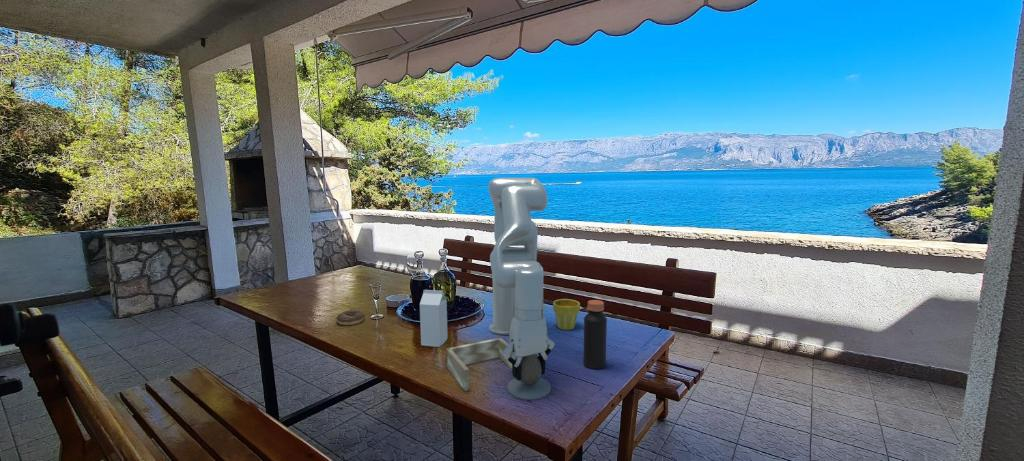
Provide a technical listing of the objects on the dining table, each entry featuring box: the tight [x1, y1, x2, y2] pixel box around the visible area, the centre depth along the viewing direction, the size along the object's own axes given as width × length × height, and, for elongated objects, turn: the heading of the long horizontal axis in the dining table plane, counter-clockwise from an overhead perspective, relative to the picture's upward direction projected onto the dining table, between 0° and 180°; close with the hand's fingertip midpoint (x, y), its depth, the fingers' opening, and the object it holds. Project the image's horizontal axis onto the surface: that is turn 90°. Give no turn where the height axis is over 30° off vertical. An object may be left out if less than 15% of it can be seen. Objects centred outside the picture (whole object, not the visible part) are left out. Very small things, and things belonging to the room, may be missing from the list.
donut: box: [336, 309, 366, 326], centre depth 165 cm, size 11×11×4 cm
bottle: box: [582, 299, 608, 370], centre depth 125 cm, size 7×7×20 cm
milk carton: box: [419, 289, 448, 348], centre depth 142 cm, size 7×7×19 cm
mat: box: [506, 377, 552, 401], centre depth 112 cm, size 12×12×1 cm
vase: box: [519, 354, 542, 385], centre depth 111 cm, size 7×7×9 cm
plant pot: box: [552, 298, 581, 331], centre depth 158 cm, size 10×10×10 cm
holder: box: [445, 337, 514, 392], centre depth 121 cm, size 18×16×6 cm
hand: (529, 374), depth 112 cm, fingers closed on vase, 6 cm apart
